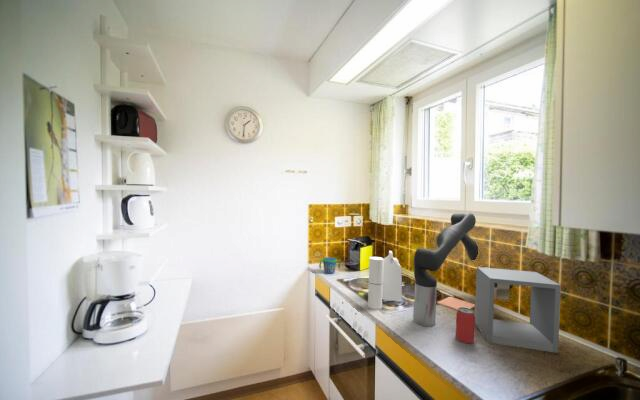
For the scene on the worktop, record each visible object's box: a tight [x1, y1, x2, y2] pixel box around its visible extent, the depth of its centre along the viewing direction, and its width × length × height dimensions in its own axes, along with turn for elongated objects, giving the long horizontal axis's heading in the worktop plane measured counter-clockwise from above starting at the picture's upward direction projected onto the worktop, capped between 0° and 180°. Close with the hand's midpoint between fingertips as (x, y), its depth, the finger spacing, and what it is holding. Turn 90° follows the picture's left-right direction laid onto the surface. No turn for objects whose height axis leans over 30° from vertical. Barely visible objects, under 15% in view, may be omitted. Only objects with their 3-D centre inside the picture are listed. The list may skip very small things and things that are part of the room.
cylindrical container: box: [367, 256, 384, 310], centre depth 136 cm, size 7×7×25 cm
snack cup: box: [318, 256, 341, 275], centre depth 193 cm, size 16×10×10 cm
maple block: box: [494, 283, 510, 301], centre depth 122 cm, size 5×5×10 cm
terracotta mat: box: [436, 296, 475, 311], centre depth 141 cm, size 14×14×1 cm
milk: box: [382, 250, 403, 302], centre depth 148 cm, size 12×12×26 cm
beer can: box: [455, 307, 476, 344], centre depth 106 cm, size 7×7×12 cm
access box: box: [474, 267, 562, 354], centre depth 110 cm, size 18×23×26 cm
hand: (503, 286), depth 120 cm, fingers closed on maple block, 5 cm apart
